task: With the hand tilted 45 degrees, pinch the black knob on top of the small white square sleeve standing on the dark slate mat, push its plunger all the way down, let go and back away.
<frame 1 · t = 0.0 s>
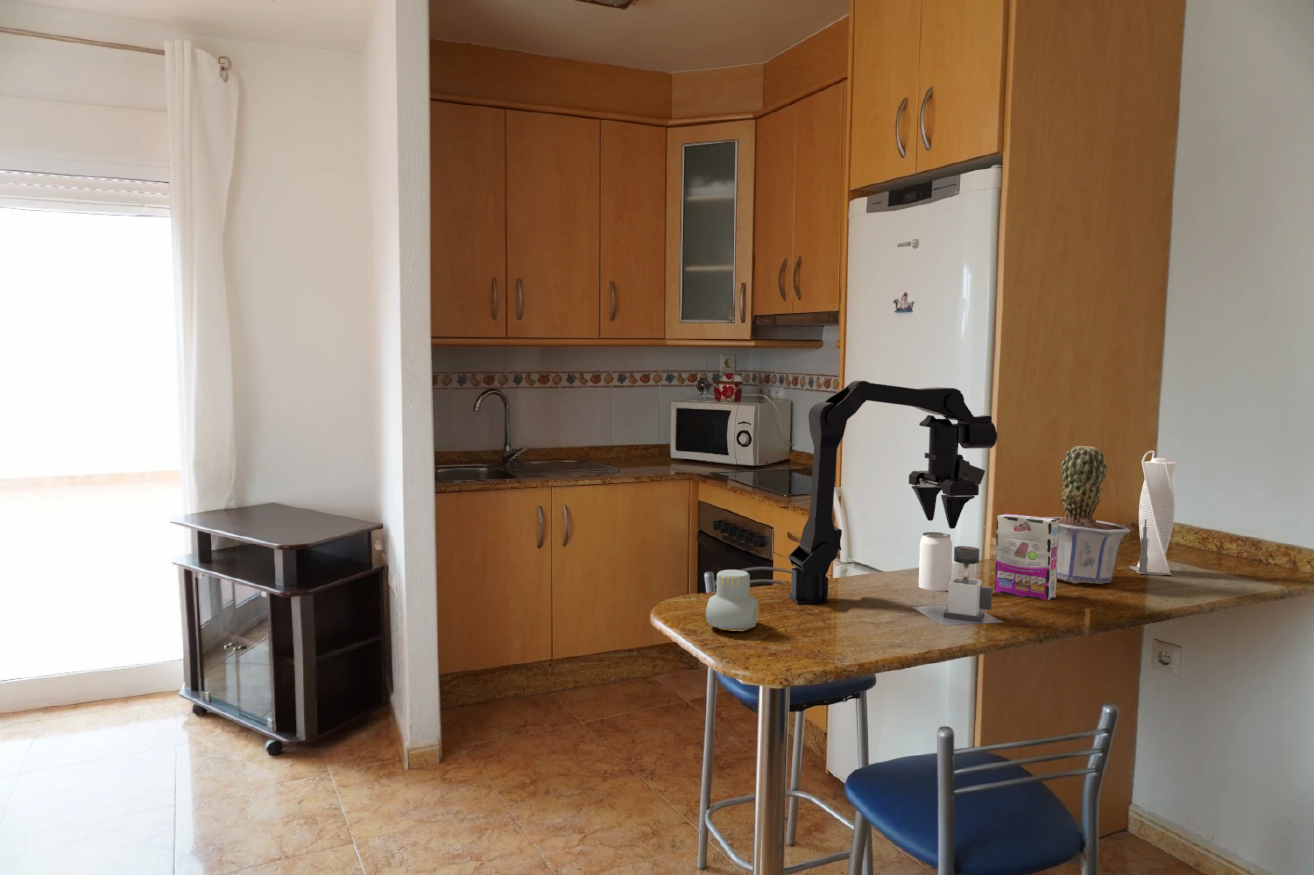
hand: (941, 524, 181), 15 cm above the breakfast bar, tool pointing down, fingers open, 9 cm apart
can: (934, 591, 185), on the breakfast bar
skyscraper: (1151, 572, 205), on the breakfast bar
white square sleeve: (964, 615, 164), resting on slate mat
slate mat: (956, 618, 165), on the breakfast bar
candy bar box: (1024, 595, 183), on the breakfast bar
potted plant: (1080, 580, 196), on the breakfast bar
air freshener: (732, 628, 158), on the breakfast bar
plunger: (965, 568, 163), point 10 cm above the breakfast bar, slide at 0.0 cm
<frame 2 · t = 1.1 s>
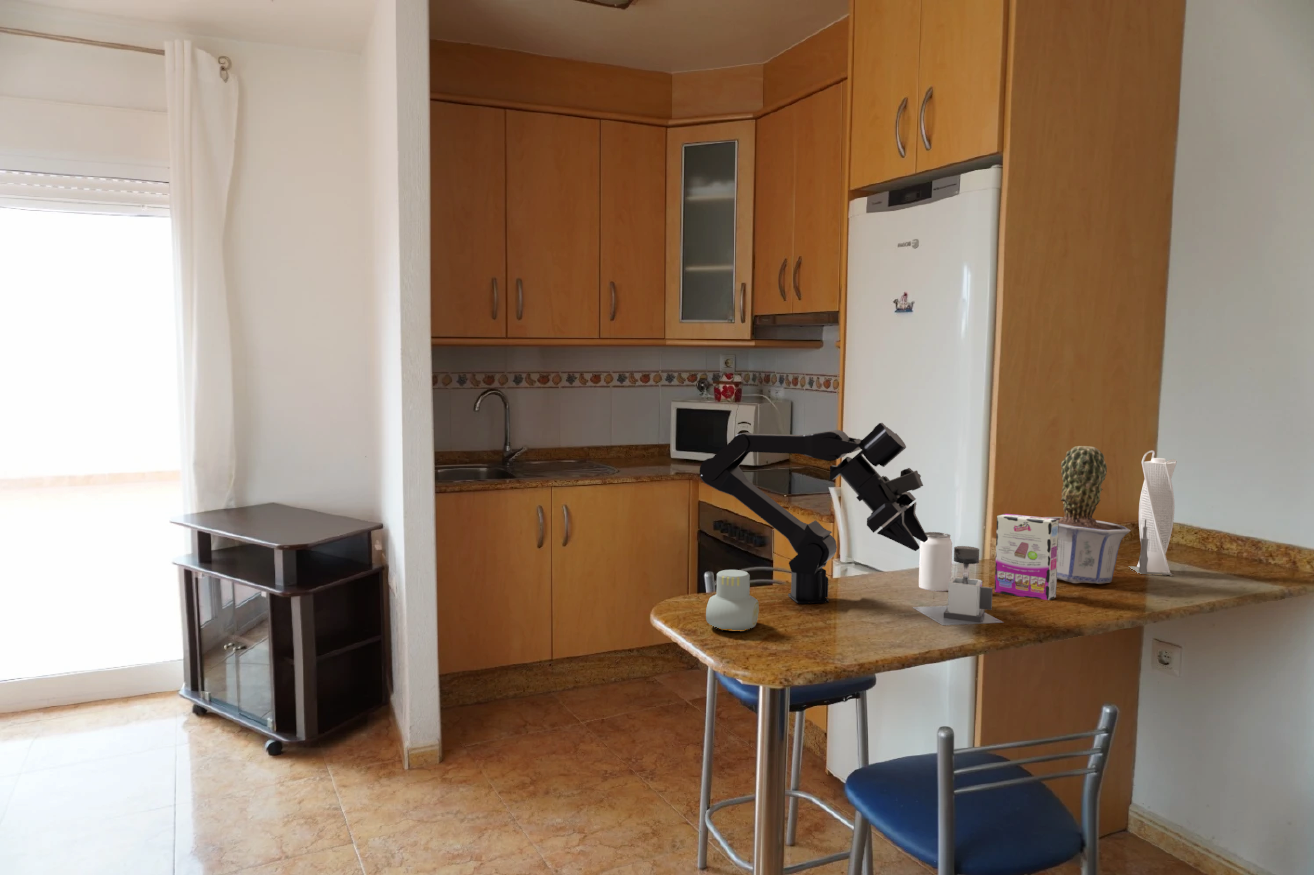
hand: (922, 545, 167), 13 cm above the breakfast bar, tool tilted 45°, fingers open, 9 cm apart
nothing on the breakfast bar moved.
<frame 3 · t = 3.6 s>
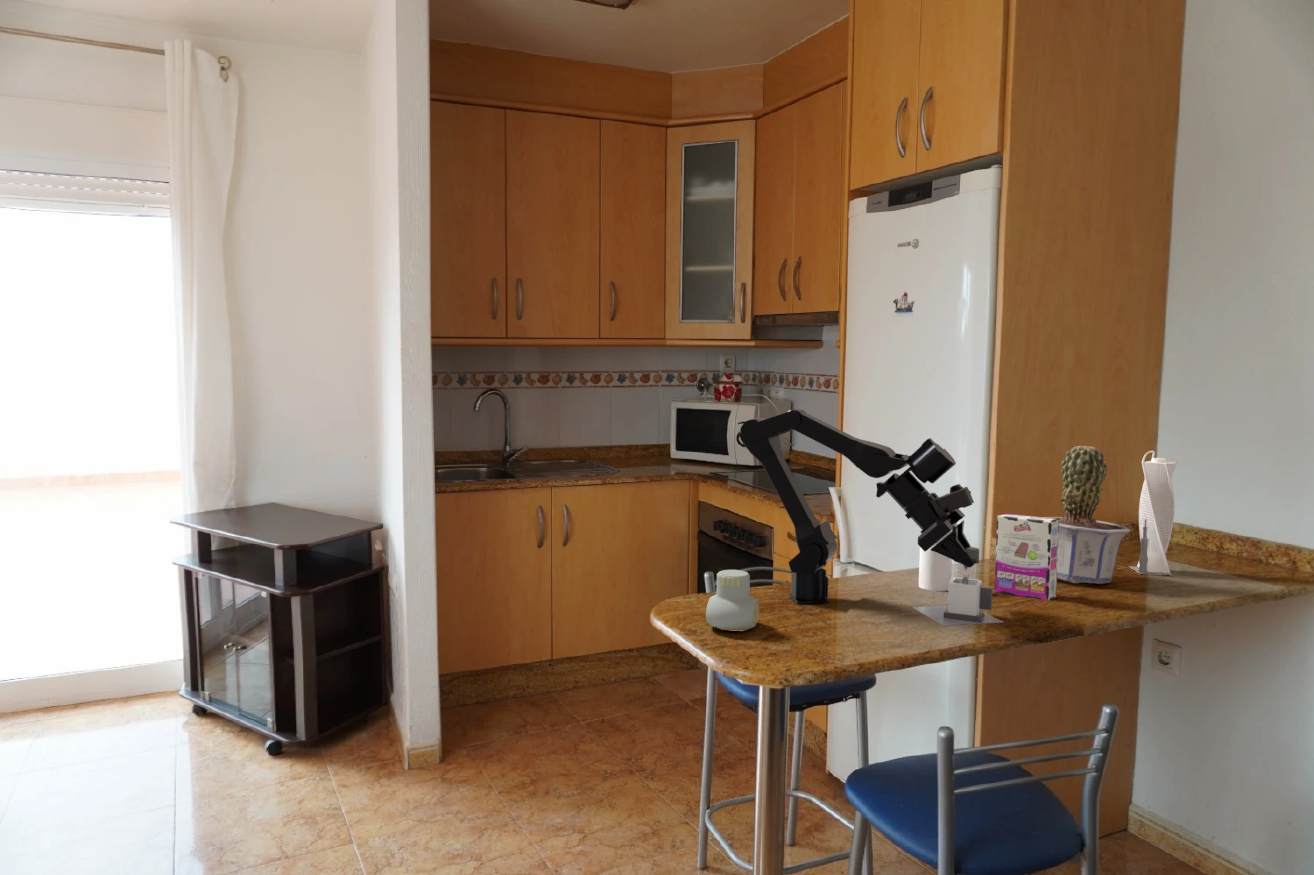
hand: (974, 563, 162), 11 cm above the breakfast bar, tool tilted 45°, fingers closed on plunger, 4 cm apart
plunger: (965, 569, 163), point 10 cm above the breakfast bar, slide at 0.0 cm, touching gripper
everything else where it was.
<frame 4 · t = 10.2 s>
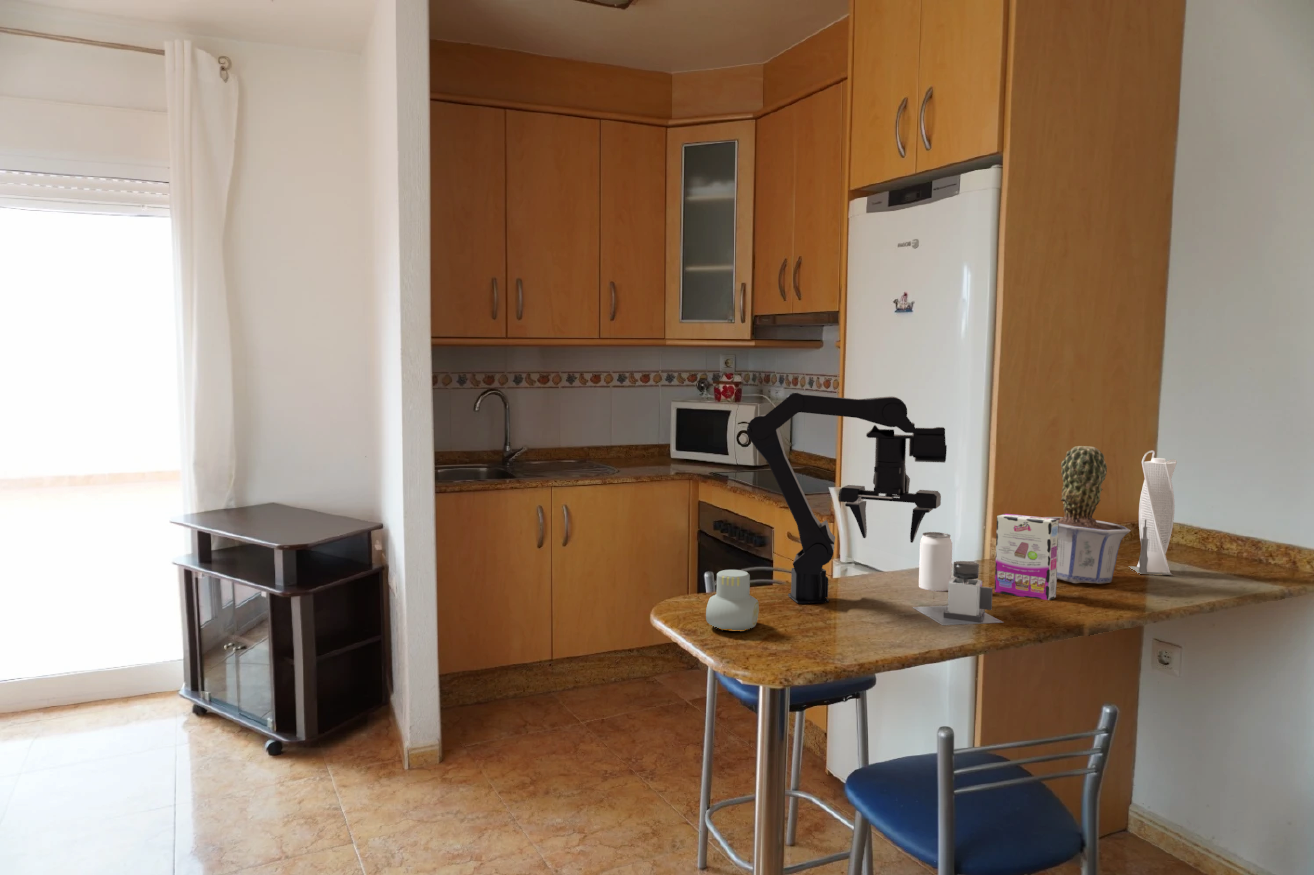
hand: (888, 540, 173), 13 cm above the breakfast bar, tool pointing down, fingers open, 9 cm apart
plunger: (965, 584, 163), point 7 cm above the breakfast bar, slide at 2.9 cm
everything else where it was.
at the end: plunger slide at 2.9 cm; the gripper is holding nothing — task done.
